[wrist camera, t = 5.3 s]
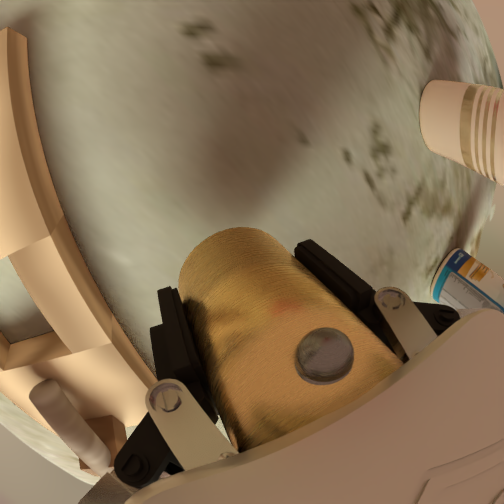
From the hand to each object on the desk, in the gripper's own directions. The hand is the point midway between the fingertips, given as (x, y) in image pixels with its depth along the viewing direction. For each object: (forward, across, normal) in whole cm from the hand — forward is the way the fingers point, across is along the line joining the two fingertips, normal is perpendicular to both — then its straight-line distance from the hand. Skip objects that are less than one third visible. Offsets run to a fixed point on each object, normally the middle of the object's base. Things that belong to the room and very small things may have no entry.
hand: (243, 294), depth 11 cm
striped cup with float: (+5, -21, -6) cm, 22 cm away
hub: (+1, 0, 0) cm, 1 cm away
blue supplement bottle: (+6, -30, +15) cm, 34 cm away
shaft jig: (+5, +13, -1) cm, 14 cm away
